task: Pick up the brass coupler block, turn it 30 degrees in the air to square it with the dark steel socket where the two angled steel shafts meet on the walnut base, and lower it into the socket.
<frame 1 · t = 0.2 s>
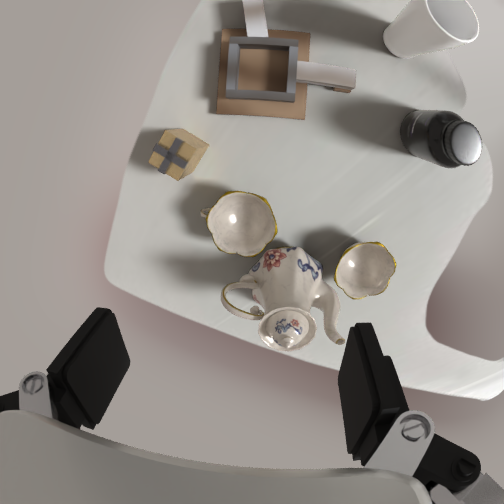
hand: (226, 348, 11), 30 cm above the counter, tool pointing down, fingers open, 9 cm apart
supplement bottle: (419, 134, 33), on the counter
shaft rig: (263, 72, 32), on the counter
coupler: (187, 150, 37), on the counter
drinking glass: (398, 42, 28), on the counter
chinaware: (294, 254, 43), on the counter
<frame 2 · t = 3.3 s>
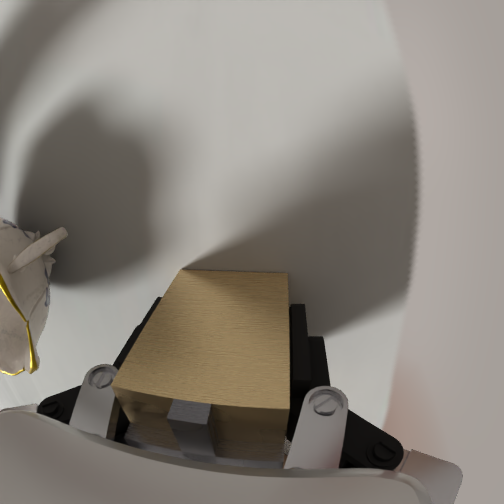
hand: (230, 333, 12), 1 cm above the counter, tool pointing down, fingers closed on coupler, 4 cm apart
coupler: (234, 315, 13), on the counter, touching gripper
when the fingers open (4 cm above the counter, at t = 8.2 s): coupler drops 2 cm, resting on shaft rig.
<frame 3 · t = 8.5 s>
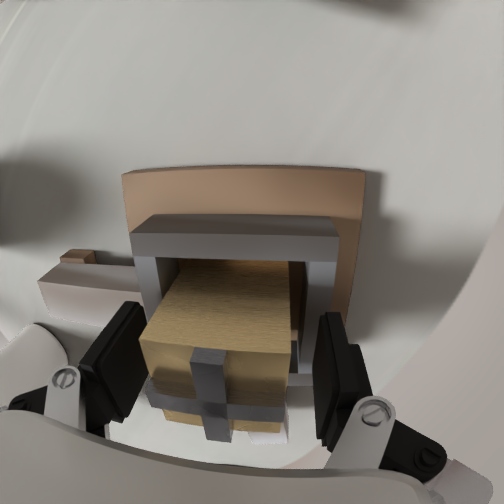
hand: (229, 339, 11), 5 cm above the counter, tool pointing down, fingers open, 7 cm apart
shaft rig: (243, 280, 15), on the counter
coupler: (240, 293, 14), point 1 cm above the counter, touching shaft rig
drinking glass: (49, 343, 21), on the counter
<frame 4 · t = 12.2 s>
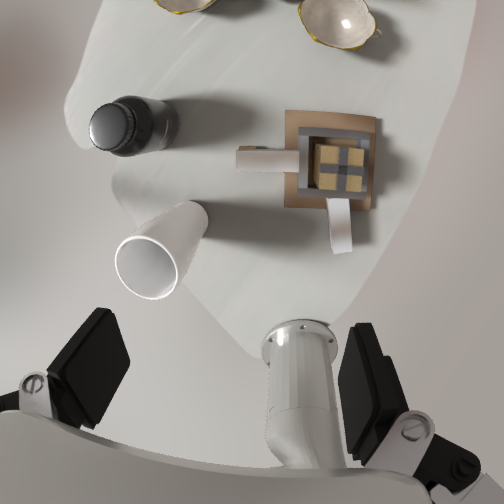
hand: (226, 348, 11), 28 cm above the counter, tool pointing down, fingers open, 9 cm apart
supplement bottle: (156, 125, 34), on the counter
shaft rig: (329, 160, 34), on the counter
coupler: (331, 161, 33), point 1 cm above the counter, touching shaft rig
drinking glass: (190, 218, 39), on the counter
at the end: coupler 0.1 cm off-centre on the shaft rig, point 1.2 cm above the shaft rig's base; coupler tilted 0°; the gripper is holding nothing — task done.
